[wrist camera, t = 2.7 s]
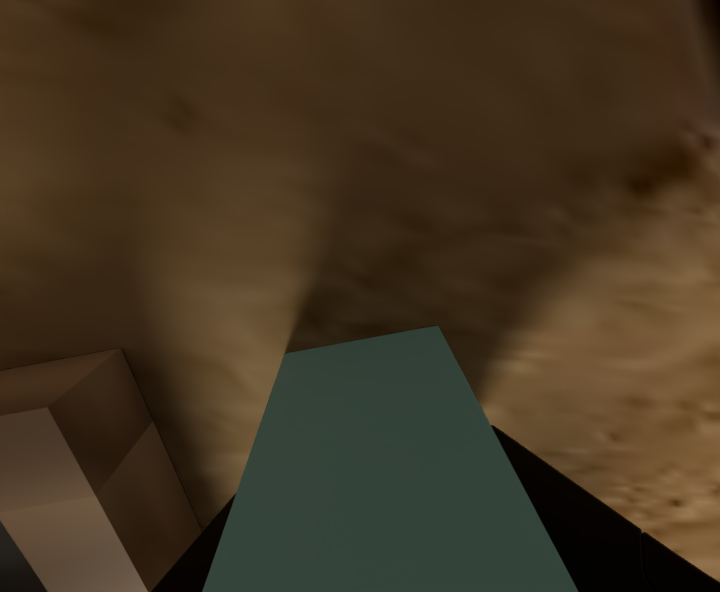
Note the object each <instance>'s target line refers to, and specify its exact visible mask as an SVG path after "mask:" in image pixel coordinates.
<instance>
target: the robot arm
mask: <svg viewBox="0 0 720 592" xmlns="http://www.w3.org/2000/svg"><path fill="white" fill-rule="evenodd" d="M491 427H492V429H493V431H494V433H495V435H496V436H497V438H498V440H499V442H500V444H501V446H502V448H503V450H504V452H505V453H506V455H507V457H508V459H509V461H510V463H511V465H512V467H513V469H514V471H515V472H516V474H517V476H518V478H519V480H520V482H521V484H522V486H523V488H524V489H525V491H526V493H527V495H528V497H529V499H530V501H531V503H532V505H533V507H534V508H535V510H536V512H537V514H538V516H539V518H540V520H541V522H542V524H543V525H544V527H545V529H546V531H547V533H548V535H549V537H550V539H551V541H552V543H553V544H554V546H555V548H556V550H557V552H558V554H559V556H560V558H561V560H562V561H563V563H564V565H565V567H566V569H567V571H568V573H569V575H570V577H571V579H572V580H573V582H574V584H575V586H576V588H577V590H578V592H720V582H719V581H717V580H715V579H714V578H712V577H711V576H709V575H707V574H706V573H704V572H703V571H701V570H700V569H698V568H697V567H695V566H694V565H692V564H691V563H690V562H688V561H687V560H685V559H684V558H682V557H681V556H679V555H678V554H676V553H675V552H673V551H672V550H670V549H669V548H667V547H666V546H664V545H663V544H662V543H660V542H659V541H657V540H656V539H655V538H653V537H652V536H650V535H649V534H647V533H646V532H643V533H642V531H641V529H640V528H639V527H637V526H636V525H634V524H633V523H631V522H630V521H629V520H627V519H626V518H624V517H623V516H622V515H620V514H619V513H617V512H616V511H614V510H613V509H612V508H610V507H609V506H607V505H606V504H604V503H603V502H602V501H600V500H599V499H597V498H596V497H595V496H593V495H592V494H590V493H589V492H587V491H586V490H585V489H583V488H582V487H580V486H579V485H577V484H576V483H575V482H573V481H572V480H570V479H569V478H568V477H566V476H565V475H563V474H562V473H560V472H559V471H558V470H556V469H555V468H553V467H552V466H550V465H549V464H548V463H546V462H545V461H543V460H542V459H541V458H539V457H538V456H536V455H535V454H533V453H532V452H531V451H529V450H528V449H526V448H525V447H523V446H522V445H521V444H519V443H518V442H516V441H515V440H513V439H512V438H511V437H509V436H508V435H506V434H505V433H504V432H502V431H501V430H499V429H498V428H496V427H495V426H493V425H491ZM236 493H237V492H236ZM235 496H236V494H235V495H234V496H233V497H232V498H231V499H230V500H229V502H228V503H227V504H226V505H225V506H224V507H223V509H222V510H221V511H220V512H219V513H218V514H217V515H216V517H215V518H214V519H213V520H212V521H211V522H210V524H209V525H208V526H207V527H206V528H205V529H204V530H203V532H202V533H201V534H200V535H199V536H198V537H197V539H196V540H195V541H194V542H193V543H192V544H191V545H190V547H189V548H188V549H187V550H186V551H185V552H184V553H183V555H182V556H181V557H180V558H179V559H178V560H177V562H176V563H175V564H174V565H173V566H172V567H171V568H170V570H169V571H168V572H167V573H166V574H165V575H164V577H163V578H162V579H161V580H160V581H159V582H158V583H157V585H156V586H155V587H154V588H153V589H152V590H151V592H202V591H203V588H204V585H205V583H206V580H207V577H208V574H209V571H210V568H211V565H212V562H213V559H214V557H215V554H216V551H217V548H218V545H219V542H220V539H221V536H222V533H223V530H224V528H225V525H226V522H227V519H228V516H229V513H230V510H231V507H232V504H233V502H234V499H235Z"/></svg>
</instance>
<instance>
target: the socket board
mask: <svg viewBox="0 0 720 592" xmlns="http://www.w3.org/2000/svg"><path fill="white" fill-rule="evenodd" d="M201 533H202V530H201V528H200V526H199V523H198V521H197V519H196V517H195V514H194V512H193V510H192V508H191V505H190V503H189V501H188V499H187V496H186V494H185V492H184V490H183V487H182V485H181V483H180V481H179V478H178V476H177V474H176V472H175V469H174V467H173V465H172V463H171V460H170V458H169V456H168V454H167V451H166V449H165V447H164V445H163V442H162V440H161V438H160V436H159V433H158V431H157V429H156V427H155V424H154V422H153V420H152V418H151V415H150V413H149V411H148V408H147V406H146V404H145V402H144V399H143V397H142V395H141V393H140V390H139V388H138V386H137V384H136V381H135V379H134V377H133V375H132V372H131V370H130V368H129V366H128V363H127V361H126V359H125V357H124V354H123V352H122V350H121V348H118V349H113V350H107V351H102V352H97V353H92V354H86V355H81V356H76V357H70V358H65V359H60V360H54V361H49V362H44V363H38V364H33V365H28V366H23V367H17V368H12V369H7V370H1V371H0V592H151V590H152V589H153V588H154V587H155V586H156V585H157V583H158V582H159V581H160V580H161V579H162V578H163V577H164V575H165V574H166V573H167V572H168V571H169V570H170V568H171V567H172V566H173V565H174V564H175V563H176V562H177V560H178V559H179V558H180V557H181V556H182V555H183V553H184V552H185V551H186V550H187V549H188V548H189V547H190V545H191V544H192V543H193V542H194V541H195V540H196V539H197V537H198V536H199V535H200V534H201Z"/></svg>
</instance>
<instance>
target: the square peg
mask: <svg viewBox="0 0 720 592" xmlns="http://www.w3.org/2000/svg"><path fill="white" fill-rule="evenodd" d="M202 592H578V590H577V588H576V586H575V584H574V582H573V580H572V579H571V577H570V575H569V573H568V571H567V569H566V567H565V565H564V563H563V561H562V560H561V558H560V556H559V554H558V552H557V550H556V548H555V546H554V544H553V543H552V541H551V539H550V537H549V535H548V533H547V531H546V529H545V527H544V525H543V524H542V522H541V520H540V518H539V516H538V514H537V512H536V510H535V508H534V507H533V505H532V503H531V501H530V499H529V497H528V495H527V493H526V491H525V489H524V488H523V486H522V484H521V482H520V480H519V478H518V476H517V474H516V472H515V471H514V469H513V467H512V465H511V463H510V461H509V459H508V457H507V455H506V453H505V452H504V450H503V448H502V446H501V444H500V442H499V440H498V438H497V436H496V435H495V433H494V431H493V429H492V427H491V425H490V423H489V421H488V419H487V417H486V416H485V414H484V412H483V410H482V408H481V406H480V404H479V402H478V400H477V399H476V397H475V395H474V393H473V391H472V389H471V387H470V385H469V383H468V381H467V380H466V378H465V376H464V374H463V372H462V370H461V368H460V366H459V364H458V363H457V361H456V359H455V357H454V355H453V353H452V351H451V349H450V347H449V345H448V344H447V342H446V340H445V338H444V336H443V334H442V332H441V330H440V328H439V327H438V325H437V326H432V327H426V328H421V329H415V330H410V331H404V332H399V333H394V334H388V335H383V336H377V337H372V338H366V339H361V340H356V341H350V342H345V343H339V344H334V345H328V346H323V347H317V348H312V349H307V350H301V351H296V352H290V353H285V354H284V357H283V360H282V363H281V365H280V368H279V371H278V374H277V377H276V380H275V383H274V386H273V389H272V392H271V394H270V397H269V400H268V403H267V406H266V409H265V412H264V415H263V418H262V420H261V423H260V426H259V429H258V432H257V435H256V438H255V441H254V444H253V447H252V449H251V452H250V455H249V458H248V461H247V464H246V467H245V470H244V473H243V475H242V478H241V481H240V484H239V487H238V490H237V493H236V496H235V499H234V502H233V504H232V507H231V510H230V513H229V516H228V519H227V522H226V525H225V528H224V530H223V533H222V536H221V539H220V542H219V545H218V548H217V551H216V554H215V557H214V559H213V562H212V565H211V568H210V571H209V574H208V577H207V580H206V583H205V585H204V588H203V591H202Z"/></svg>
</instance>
